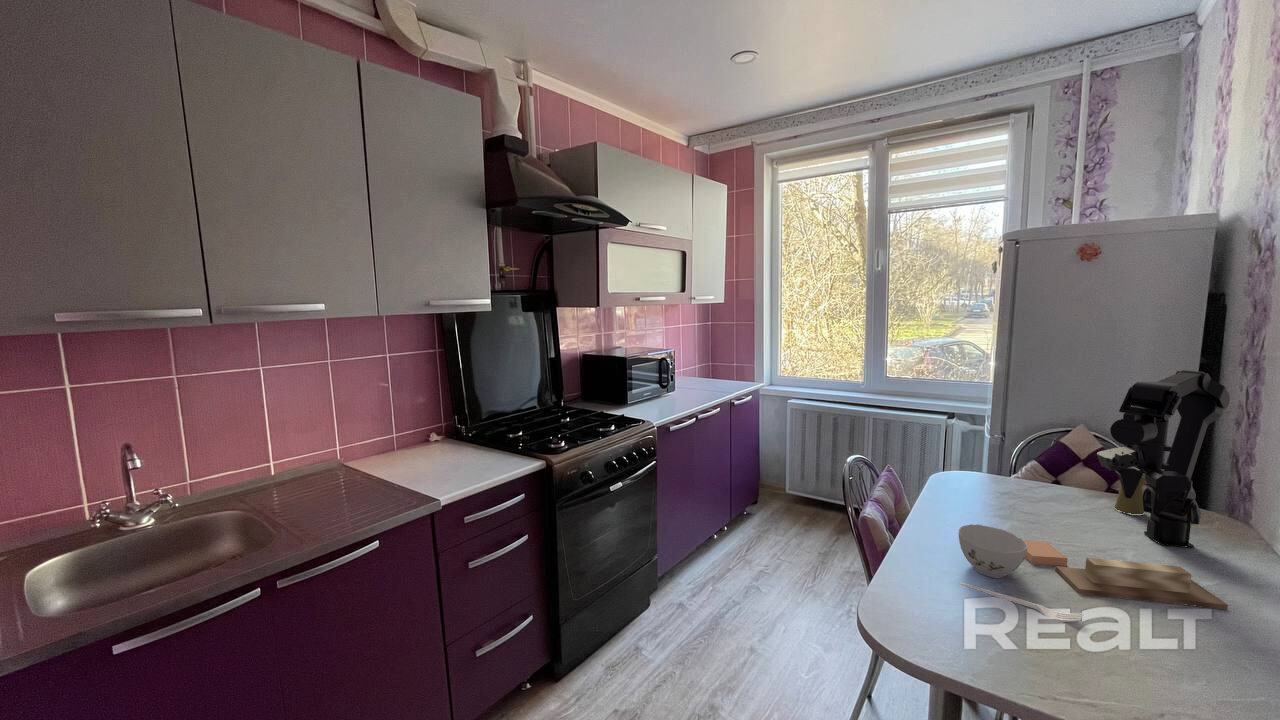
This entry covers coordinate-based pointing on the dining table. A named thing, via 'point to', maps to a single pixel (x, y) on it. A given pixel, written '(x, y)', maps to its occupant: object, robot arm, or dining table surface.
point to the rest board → (1139, 591)
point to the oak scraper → (1138, 575)
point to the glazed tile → (1044, 553)
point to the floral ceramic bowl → (992, 549)
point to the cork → (1131, 500)
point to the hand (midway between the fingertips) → (1141, 505)
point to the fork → (1034, 606)
